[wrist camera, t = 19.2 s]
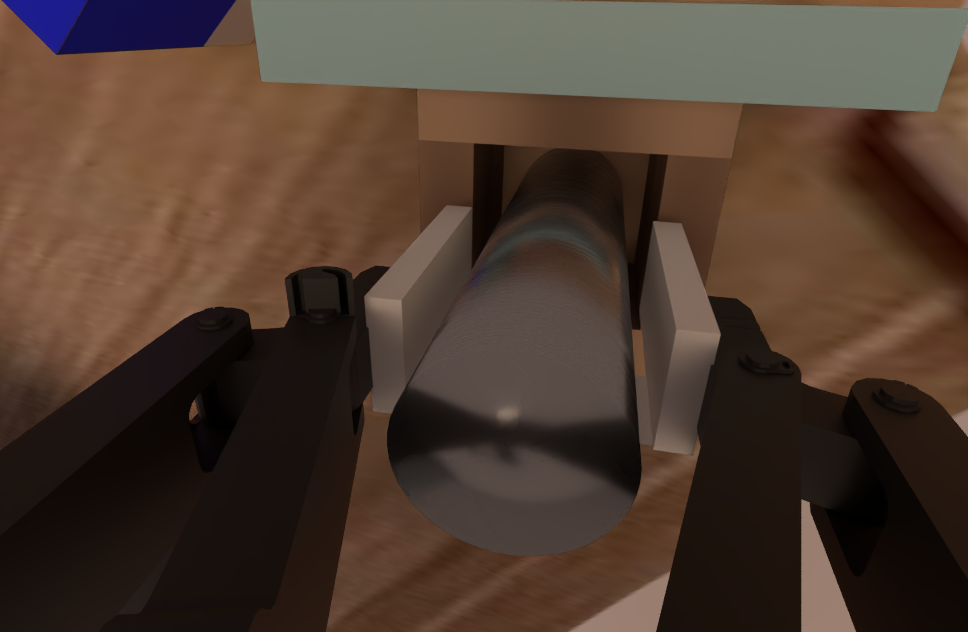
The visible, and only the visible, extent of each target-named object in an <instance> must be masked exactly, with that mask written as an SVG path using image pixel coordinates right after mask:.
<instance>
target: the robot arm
mask: <svg viewBox="0 0 968 632" xmlns="http://www.w3.org/2000/svg"><path fill="white" fill-rule="evenodd" d="M471 249H472V207H464V206H451V205H447V206H446V207H445V208H444V209H443V210H442V211H441V212H440V213H439V214H438V215H437V217H436V218H435V219H434V220H433V221H432V222H431V223H430V224H429V225H428V227H427V228H426V229H425V230H424V231H423V232H422V233H421V234H420V235H419V236H418V238H417V239H416V240H415V241H414V242H413V243H412V244H411V245H410V246H409V248H408V249H407V250H406V251H405V252H404V253H403V254H402V255H401V256H400V257H399V259H398V260H397V261H396V262H395V263H394V264H393V265H392V266H391V267H384V266H374V267H372V268H370V269H367V270H365V271H363V272H361V273H360V274H359V275H358V276H357V277H356V278H355V279H354V280H353V278H352V273H350V272H349V271H347V270H346V269H342V268H338V267H330V266H320V267H310V268H305V269H301V270H298V271H296V272H293V273H291V274H289V275H288V276H287V277H286V278H285V285H286V292H287V299H288V306H289V313H290V317H289V319H288V321H287V323H286V325H285V327H283V328H271V329H251V323H250V318H249V314H248V313H247V312H245V311H244V310H241V309H236V308H224V307H215V308H214V309H213V308H207V309H205V310H204V311H201V312H197V313H194V314H192V315H190V316H189V317H187V318H185V319H183V320H182V321H180V322H179V323H178V324H176V325H175V326H173V327H172V328H171V329H169V330H168V331H167V332H165V333H164V334H162V335H161V336H160V337H158V338H157V339H155V340H154V341H153V342H151V343H150V344H148V345H147V346H146V347H144V348H143V349H141V350H140V351H139V352H137V353H136V354H134V355H133V356H132V357H130V358H129V359H127V360H126V361H125V362H123V363H122V364H120V365H119V366H118V367H116V368H115V369H113V370H112V371H111V372H109V373H108V374H106V375H105V376H104V377H102V378H101V379H99V380H98V381H97V382H95V383H94V384H92V385H91V386H90V387H88V388H87V389H85V390H84V391H83V392H81V393H80V394H78V395H77V396H76V397H74V398H73V399H72V400H70V401H69V402H67V403H66V404H65V405H63V406H62V407H60V408H59V409H58V410H56V411H55V412H53V413H52V414H51V415H49V416H48V417H46V418H45V419H44V420H42V421H41V422H39V423H38V424H37V425H35V426H34V427H32V428H31V429H30V430H28V431H27V432H25V433H24V434H23V435H21V436H20V437H18V438H17V439H16V440H14V441H13V442H11V443H10V444H9V445H7V446H6V447H4V448H3V449H2V450H0V632H326V627H327V622H328V617H329V611H330V606H331V600H332V595H333V589H334V584H335V578H336V573H337V567H338V562H339V557H340V551H341V546H342V540H343V535H344V529H345V524H346V518H347V513H348V507H349V502H350V497H351V491H352V486H353V480H354V475H355V469H356V464H357V458H358V453H359V447H360V442H361V437H362V431H363V426H364V409H363V401H364V400H365V398H366V397H367V395H368V394H369V392H370V391H371V393H372V406H373V411H375V412H382V413H389V414H392V412H393V409H394V406H395V405H396V403H397V401H398V399H399V398H400V396H401V394H402V392H403V391H404V389H405V387H406V385H407V383H408V382H409V380H410V378H411V376H412V375H413V373H414V371H415V369H416V367H417V366H418V364H419V362H420V360H421V359H422V357H423V355H424V353H425V352H426V350H427V348H428V346H429V344H430V343H431V341H432V339H433V337H434V336H435V334H436V332H437V330H438V329H439V327H440V325H441V323H442V321H443V320H444V318H445V316H446V314H447V313H448V311H449V309H450V307H451V306H452V304H453V302H454V300H455V298H456V297H457V295H458V293H459V291H460V290H461V288H462V286H463V284H464V282H465V281H466V279H467V277H468V275H469V274H470V272H471ZM639 311H640V321H641V331H642V341H643V351H644V361H645V371H646V381H647V391H648V401H649V411H650V421H651V432H652V442H653V450H658V451H665V452H673V453H680V454H687V455H693V452H694V447H695V443H696V439H697V434H698V436H699V440H700V445H701V448H700V452H699V456H698V460H697V464H696V468H695V473H694V477H693V481H692V485H691V489H690V493H689V497H688V502H687V506H686V510H685V514H684V518H683V522H682V527H681V531H680V535H679V539H678V543H677V547H676V551H675V556H674V560H673V564H672V568H671V572H670V576H669V581H668V585H667V589H666V593H665V597H664V601H663V606H662V610H661V614H660V618H659V622H658V626H657V631H656V632H801V499H803V500H805V501H808V502H810V511H811V514H812V517H813V520H814V522H815V525H816V527H817V530H818V532H819V535H820V538H821V540H822V543H823V546H824V548H825V551H826V554H827V556H828V559H829V561H830V564H831V567H832V570H833V572H834V575H835V577H836V580H837V583H838V585H839V588H840V591H841V593H842V596H843V598H844V601H845V603H846V606H847V609H848V611H849V614H850V617H851V619H852V622H853V625H854V627H855V630H856V632H968V437H967V435H966V434H965V433H964V432H963V430H962V429H961V428H960V427H959V426H958V424H957V423H956V422H955V421H954V420H953V418H952V417H951V416H950V415H949V414H948V412H947V411H946V410H945V409H944V408H943V406H942V405H941V404H940V403H938V402H937V401H936V400H935V399H934V398H933V397H931V396H930V395H928V394H926V393H924V392H922V391H920V390H918V388H916V387H914V386H912V385H909V384H907V385H906V384H905V383H903V382H900V381H896V380H893V381H891V380H886V379H876V378H866V379H862V380H858V381H856V382H855V383H854V384H853V386H852V387H851V390H850V393H849V395H848V397H846V396H842V395H838V394H835V393H831V392H827V391H824V390H820V389H817V388H814V387H811V386H808V385H806V384H804V383H802V382H801V372H800V369H799V367H798V366H797V365H796V364H795V363H794V362H793V361H792V360H790V359H789V358H787V357H785V356H783V355H781V354H779V353H777V352H773V351H771V349H770V347H769V345H768V343H767V341H766V339H765V337H764V335H763V333H762V331H760V327H759V325H758V323H757V322H756V319H755V317H754V315H753V313H752V311H751V309H750V308H749V307H747V306H746V305H745V304H743V303H742V302H741V301H739V300H738V299H735V298H724V297H714V296H707V294H706V291H705V288H704V285H703V282H702V280H701V277H700V274H699V271H698V268H697V266H696V263H695V260H694V257H693V254H692V251H691V249H690V246H689V243H688V240H687V237H686V234H685V232H684V229H683V226H682V223H671V222H658V221H653V226H652V232H651V239H650V245H649V251H648V258H647V264H646V270H645V277H644V283H643V289H642V296H641V302H640V309H639ZM194 400H195V402H196V406H197V410H198V414H197V415H196V416H195V417H194V418H193V419H192V420H190V421H189V412H190V408H191V405H192V402H193V401H194Z"/></svg>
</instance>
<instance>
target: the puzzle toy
mask: <svg viewBox="0 0 968 632" xmlns="http://www.w3.org/2000/svg"><path fill="white" fill-rule="evenodd" d="M2 1H3V2H4V3H5V4H6V5H7V6H8V7H9V8H10V9H11V10H12V11H13V12H14V13H15V14H16V15H17V16H18V17H19V18H20V19H21V20H22V21H23V22H24V23H25V24H26V25H27V26H28V27H29V28H30V29H31V30H32V31H33V32H34V33H35V34H36V35H37V36H38V37H39V38H40V39H41V40H42V41H43V42H44V43H45V44H46V45H47V46H48V47H49V48H50V49H51V50H52V51H53V52H54V53H55V54H56V55H63V54H81V53H99V52H117V51H136V50H154V49H172V48H190V47H208V46H227V45H245V44H251V42H252V41H253V40H254V38H255V30H254V23H253V15H252V8H251V1H250V0H2Z"/></svg>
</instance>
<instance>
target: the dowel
mask: <svg viewBox="0 0 968 632" xmlns="http://www.w3.org/2000/svg"><path fill="white" fill-rule="evenodd" d="M387 447H388V454H389V460H390V463H391V466H392V470H393V472H394V474H395V477H396V479H397V481H398V483H399V485H400V486H401V488H402V490H403V491H404V493H405V495H406V496H407V497H408V498H409V500H410V501H411V502H412V503H413V505H414V506H415V507H416V508H417V509H418V510H419V511H420V512H421V513H422V514H423V515H424V516H425V517H426V518H428V519H429V520H430V521H431V522H433V523H434V524H435V525H436V526H438V527H439V528H441V529H442V530H444V531H445V532H447V533H449V534H450V535H452V536H454V537H456V538H458V539H460V540H462V541H464V542H466V543H469V544H471V545H474V546H476V547H479V548H483V549H486V550H489V551H493V552H498V553H502V554H509V555H517V556H546V555H554V554H560V553H565V552H568V551H572V550H575V549H578V548H581V547H583V546H586V545H588V544H590V543H592V542H594V541H596V540H597V539H599V538H601V537H603V536H604V535H605V534H607V533H608V532H609V531H611V530H612V529H613V528H614V527H615V526H616V525H617V524H618V523H619V522H620V521H621V520H622V519H623V518H624V516H625V515H626V514H627V512H628V511H629V509H630V508H631V506H632V504H633V502H634V500H635V498H636V496H637V492H638V489H639V485H640V480H641V470H642V467H641V453H640V439H639V424H638V410H637V396H636V382H635V367H634V353H633V339H632V325H631V310H630V296H629V282H628V268H627V253H626V239H625V225H624V211H623V196H622V186H621V182H620V179H619V176H618V174H617V172H616V170H615V168H614V167H613V166H612V164H611V163H610V162H609V161H608V160H607V159H606V158H605V157H603V156H602V155H601V154H599V153H597V152H596V151H594V150H580V149H563V148H555V149H553V150H550V151H548V152H547V153H545V154H543V155H542V156H540V157H539V158H538V159H537V160H536V161H535V162H534V163H533V164H532V165H531V166H530V168H529V169H528V171H527V173H526V174H525V176H524V178H523V180H522V182H521V183H520V185H519V187H518V189H517V190H516V192H515V194H514V196H513V197H512V199H511V201H510V203H509V205H508V206H507V208H506V210H505V212H504V213H503V215H502V217H501V219H500V220H499V222H498V224H497V226H496V228H495V229H494V231H493V233H492V235H491V236H490V238H489V240H488V242H487V244H486V245H485V247H484V249H483V251H482V252H481V254H480V256H479V258H478V259H477V261H476V263H475V265H474V267H473V268H472V270H471V272H470V274H469V275H468V277H467V279H466V281H465V282H464V284H463V286H462V288H461V290H460V291H459V293H458V295H457V297H456V298H455V300H454V302H453V304H452V306H451V307H450V309H449V311H448V313H447V314H446V316H445V318H444V320H443V321H442V323H441V325H440V327H439V329H438V330H437V332H436V334H435V336H434V337H433V339H432V341H431V343H430V344H429V346H428V348H427V350H426V352H425V353H424V355H423V357H422V359H421V360H420V362H419V364H418V366H417V367H416V369H415V371H414V373H413V375H412V376H411V378H410V380H409V382H408V383H407V385H406V387H405V389H404V391H403V392H402V394H401V396H400V398H399V399H398V401H397V403H396V405H395V406H394V409H393V412H392V414H391V417H390V421H389V426H388V432H387Z"/></svg>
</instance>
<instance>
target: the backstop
mask: <svg viewBox="0 0 968 632" xmlns="http://www.w3.org/2000/svg"><path fill="white" fill-rule="evenodd" d="M250 1H251V8H252V15H253V23H254V30H255V37H256V45H257V52H258V59H259V66H260V74H261V81H263V82H285V83H307V84H329V85H352V86H374V87H396V88H418V89H440V90H462V91H485V92H507V93H529V94H551V95H573V96H595V97H618V98H640V99H662V100H684V101H706V102H729V103H751V104H773V105H795V106H817V107H839V108H862V109H884V110H906V111H928V112H936V110H937V107H938V105H939V102H940V99H941V96H942V93H943V90H944V87H945V85H946V82H947V79H948V76H949V73H950V70H951V67H952V65H953V62H954V59H955V56H956V53H957V50H958V48H959V45H960V42H961V39H962V36H963V33H964V30H965V28H966V25H967V22H968V9H965V8H914V7H863V6H812V5H761V4H710V3H658V2H607V1H556V0H250ZM635 382H636V396H637V410H638V424H639V439H640V444H643V445H650V446H653V442H652V432H651V421H650V411H649V401H648V391H647V381H646V376H639V375H635Z"/></svg>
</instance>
